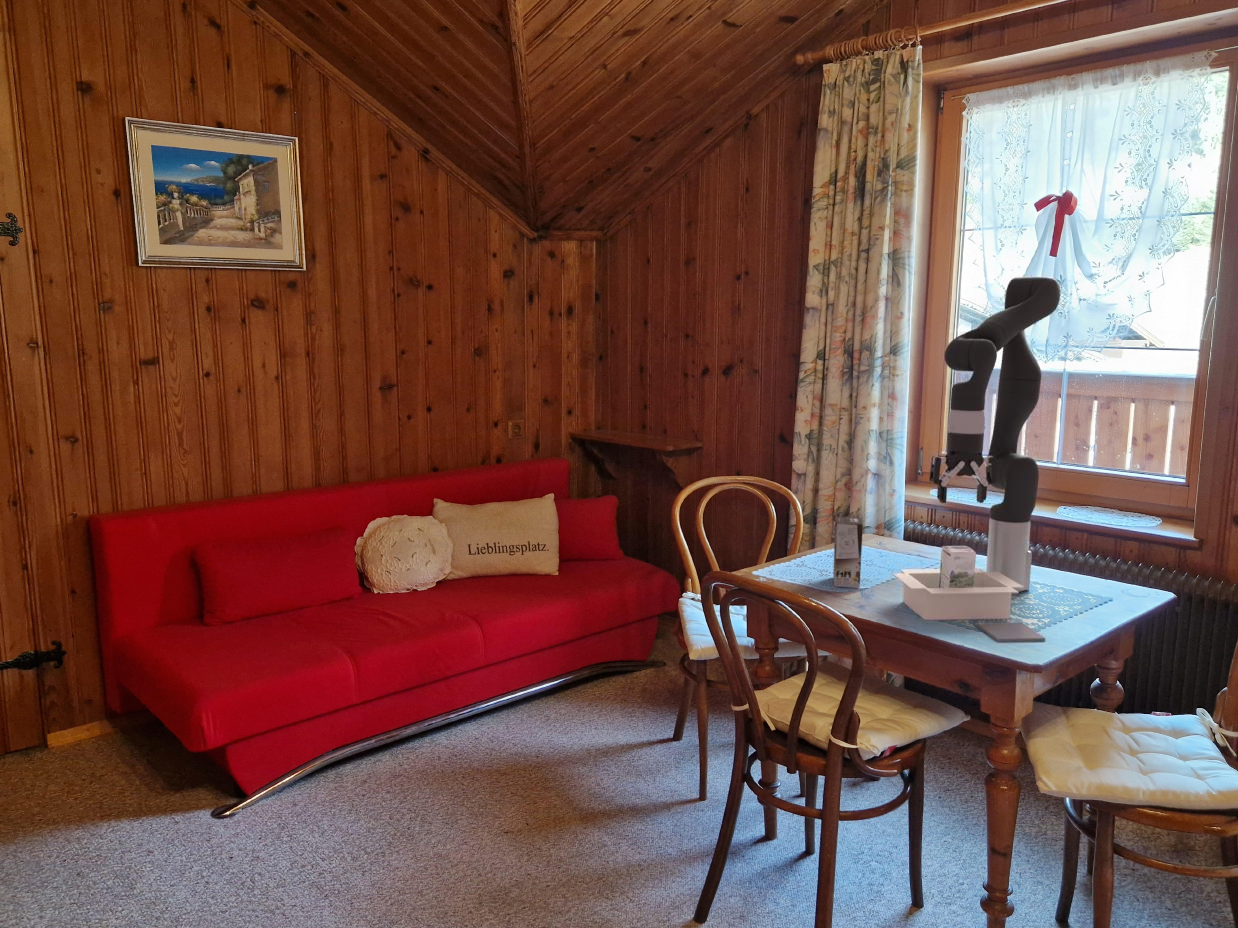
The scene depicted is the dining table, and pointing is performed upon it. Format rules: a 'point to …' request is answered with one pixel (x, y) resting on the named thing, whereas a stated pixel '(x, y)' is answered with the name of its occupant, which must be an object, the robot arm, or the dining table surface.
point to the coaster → (1010, 632)
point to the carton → (957, 595)
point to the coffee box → (847, 551)
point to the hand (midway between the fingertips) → (961, 502)
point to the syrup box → (957, 567)
